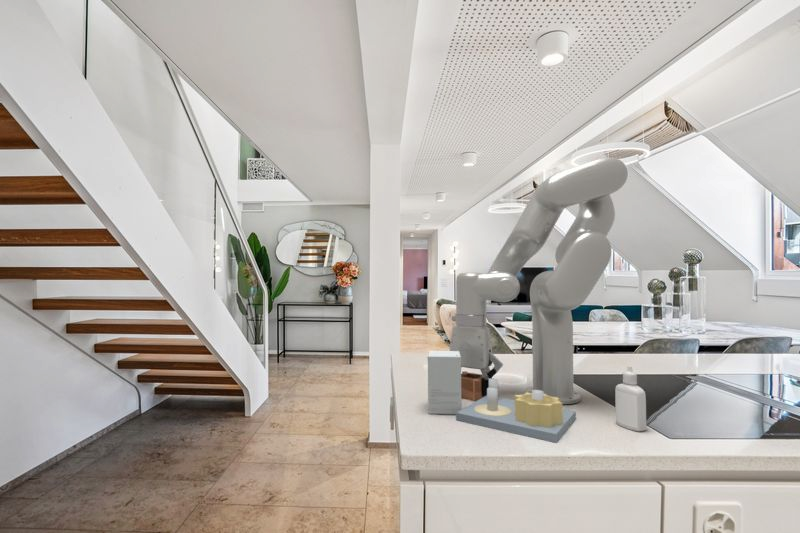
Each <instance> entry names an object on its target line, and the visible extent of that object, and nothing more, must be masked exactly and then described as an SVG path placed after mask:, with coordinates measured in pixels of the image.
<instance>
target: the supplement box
mask: <svg viewBox="0 0 800 533" xmlns="http://www.w3.org/2000/svg"><path fill="white" fill-rule="evenodd" d="M461 374H462V367H461V356H460V353H459V351H450V350H428V355H427V402H428V409H427V410H428V414H430V415H433V414H435V415H456V412H458V411H460V410H462V398H461Z"/></svg>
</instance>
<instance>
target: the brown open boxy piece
mask: <svg viewBox="0 0 800 533" xmlns="http://www.w3.org/2000/svg"><path fill="white" fill-rule="evenodd" d="M483 379H484V377H483V375H482V373H474V372H468V371H461V400H468V401H474V402H476V401H478V400H479V399H481V398H483V397H485V396H483V395H482V380H483Z"/></svg>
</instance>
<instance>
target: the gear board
mask: <svg viewBox="0 0 800 533" xmlns="http://www.w3.org/2000/svg"><path fill="white" fill-rule="evenodd" d="M576 418H577V411H576V410H573V409H566V408H563V404H562V403H561V402H559V398H557V397H551V396H548V395H546V394H544V392H543V391H541V390H532V393H526V392H525V393H524V394H514V399H510V398H503V397H499V379H498V378H493V377H492V378H490V379H489V388H487V395H486V396H485V397H483V398H481V399H479V400H478V401H476V402H475V401H474V402H472V403H471V404H469V405H466V406H465V407H463V408H461V410H460V411H458V412H456V414H455V420H456V421H458V422H463V423H467V424H472V425H477V426H481V427H486V428H489V429H495V430H499V431H503V432H507V433H512V434H517V435H520V436H525V437H530V438H532V439H533V438H534V439H539V440H543V441H547V442H552V443H557V442H558V441H559V440H560V439H561V438H562V436H563V435H564V434H565V433H566V431H567V430H568V428H570V426H571V425H572V424H573V423H574V421H575V420H576Z"/></svg>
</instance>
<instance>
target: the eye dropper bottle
mask: <svg viewBox="0 0 800 533" xmlns="http://www.w3.org/2000/svg"><path fill="white" fill-rule="evenodd" d="M632 367H633V366H632V365H627V367H626V371H623V372H622V383H619V384H618V383H617V385H616V386H615V393H614V394H615V397H614V398H615V403H614V404H615V408H614V409H615V423H616V424H617V425H618V426H620V427H622V428H624V429H627V430H630V431H632V432H633V431H634V432H644V431H646V430H647V399H646V395H647V394H646V391H644V389H643V388H642V387H641V386H639V385H637V384H638V375H637V373H636V372H634V371H633V368H632Z"/></svg>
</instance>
